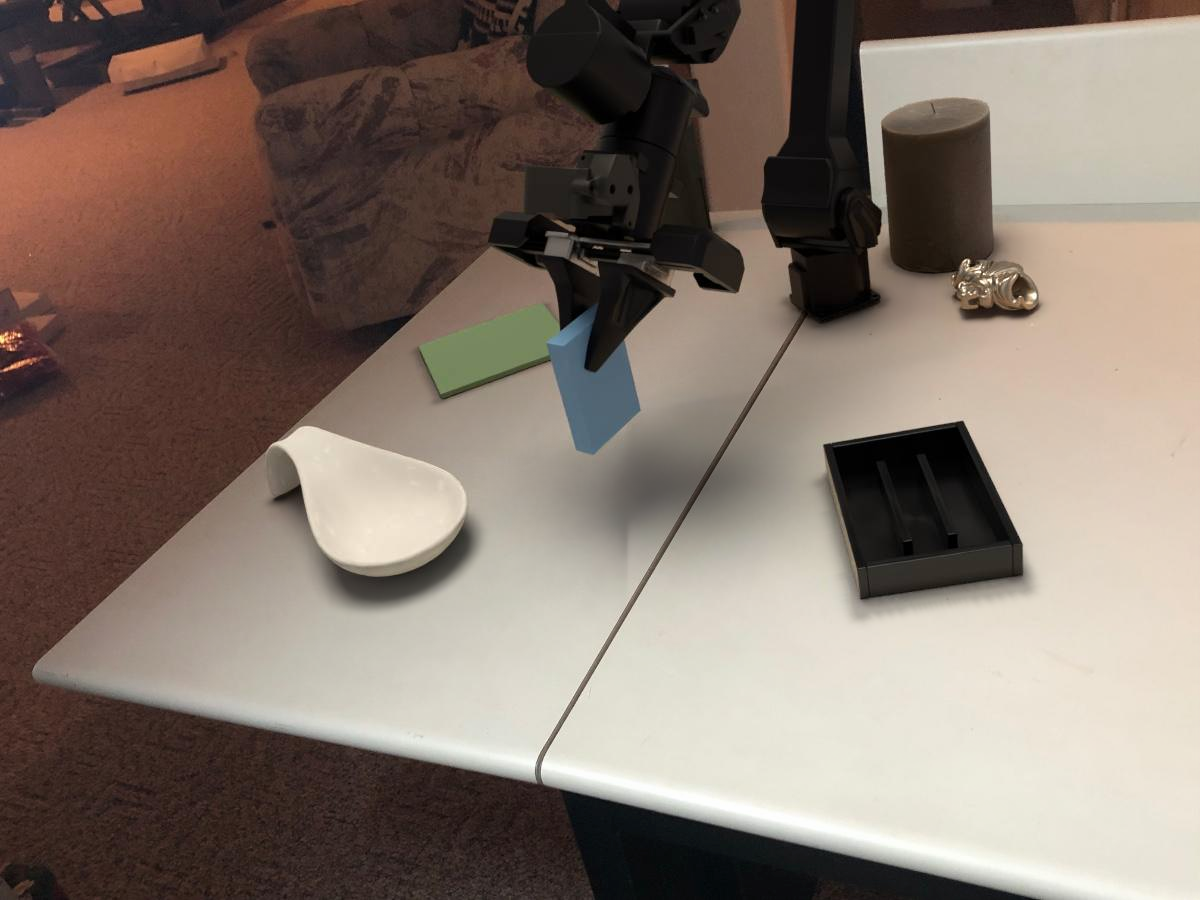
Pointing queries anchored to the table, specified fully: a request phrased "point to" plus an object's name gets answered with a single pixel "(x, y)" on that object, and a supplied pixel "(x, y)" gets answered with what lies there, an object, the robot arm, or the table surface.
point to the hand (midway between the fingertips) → (578, 368)
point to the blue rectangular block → (592, 386)
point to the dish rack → (920, 511)
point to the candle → (688, 187)
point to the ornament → (994, 285)
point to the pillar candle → (938, 183)
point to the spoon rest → (368, 501)
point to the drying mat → (490, 349)
